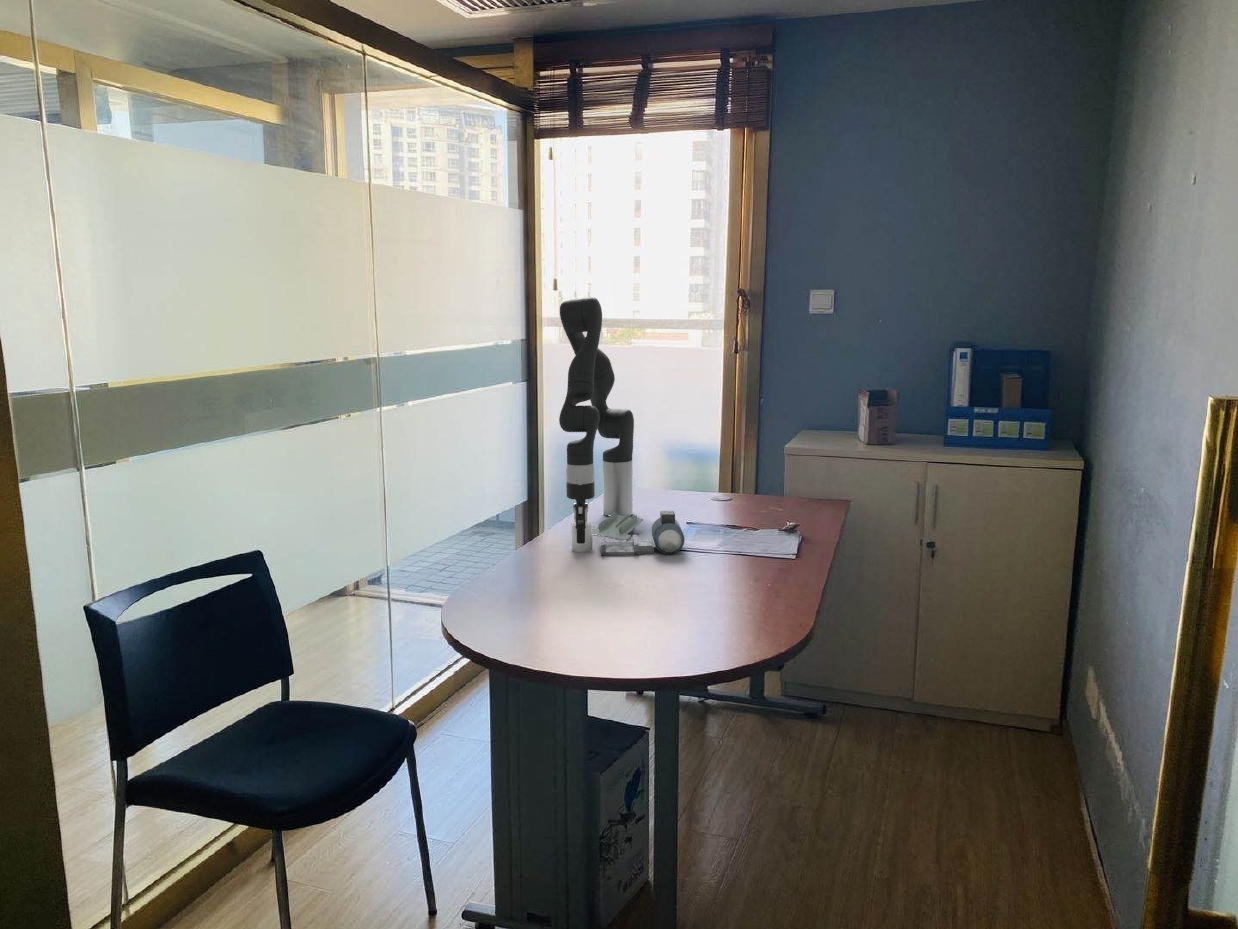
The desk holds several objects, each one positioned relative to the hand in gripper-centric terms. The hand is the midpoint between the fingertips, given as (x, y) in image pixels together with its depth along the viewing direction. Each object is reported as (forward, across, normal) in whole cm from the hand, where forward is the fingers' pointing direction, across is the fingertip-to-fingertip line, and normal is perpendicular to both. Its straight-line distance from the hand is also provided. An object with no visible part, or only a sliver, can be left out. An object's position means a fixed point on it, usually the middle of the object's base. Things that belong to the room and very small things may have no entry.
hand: (581, 539), depth 240 cm
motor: (+3, +2, +16) cm, 17 cm away
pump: (+3, 0, 0) cm, 3 cm away
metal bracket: (+3, -18, +10) cm, 21 cm away
